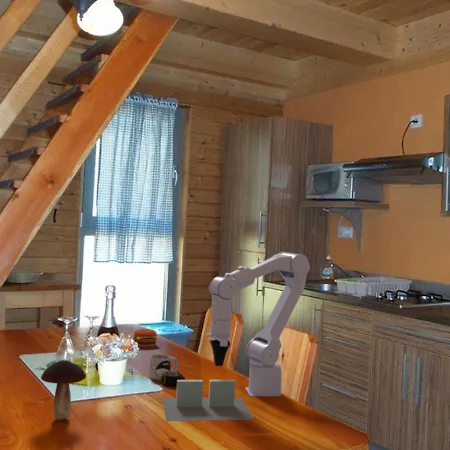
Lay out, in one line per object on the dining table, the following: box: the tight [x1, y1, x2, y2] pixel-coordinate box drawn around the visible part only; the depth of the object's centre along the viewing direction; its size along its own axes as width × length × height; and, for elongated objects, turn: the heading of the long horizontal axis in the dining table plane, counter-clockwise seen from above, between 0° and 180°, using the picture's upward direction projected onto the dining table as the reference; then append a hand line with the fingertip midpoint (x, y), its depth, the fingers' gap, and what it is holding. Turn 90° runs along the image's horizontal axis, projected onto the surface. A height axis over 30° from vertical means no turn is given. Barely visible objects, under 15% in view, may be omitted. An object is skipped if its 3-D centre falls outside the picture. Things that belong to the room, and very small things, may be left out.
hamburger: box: [131, 327, 160, 349], centre depth 228 cm, size 9×10×7 cm
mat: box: [161, 396, 255, 422], centre depth 157 cm, size 23×18×1 cm
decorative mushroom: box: [40, 359, 87, 421], centre depth 145 cm, size 11×11×15 cm
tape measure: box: [160, 370, 186, 387], centre depth 178 cm, size 7×7×4 cm
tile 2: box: [175, 379, 204, 407], centre depth 158 cm, size 7×2×7 cm, turn 100°
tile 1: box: [208, 379, 236, 407], centre depth 160 cm, size 7×2×7 cm, turn 100°
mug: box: [149, 353, 178, 381], centre depth 187 cm, size 10×7×7 cm
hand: (218, 365), depth 167 cm, fingers closed
